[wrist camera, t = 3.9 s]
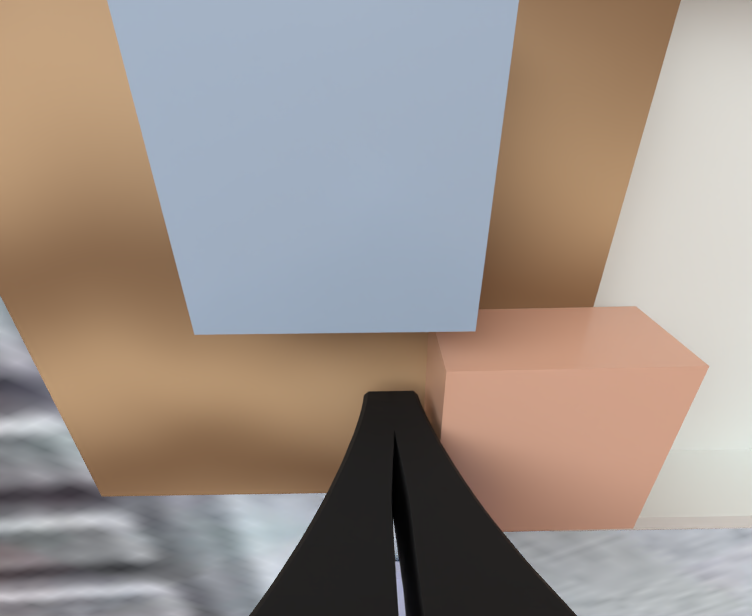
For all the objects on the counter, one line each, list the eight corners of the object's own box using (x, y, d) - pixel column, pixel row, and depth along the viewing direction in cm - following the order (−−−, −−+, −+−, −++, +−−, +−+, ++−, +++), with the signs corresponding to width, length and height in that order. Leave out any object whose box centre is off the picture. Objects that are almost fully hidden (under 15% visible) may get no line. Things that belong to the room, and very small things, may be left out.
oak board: (520, 441, 15) (541, 489, 13) (134, 447, 15) (102, 496, 13) (637, -67, 8) (712, -112, 6) (-76, -64, 8) (-204, -109, 6)
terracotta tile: (586, 452, 12) (632, 528, 10) (421, 455, 12) (432, 533, 10) (635, 306, 10) (709, 365, 8) (429, 310, 10) (446, 372, 8)
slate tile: (451, 276, 9) (475, 330, 7) (234, 278, 9) (194, 334, 7) (475, 9, 7) (521, -25, 5) (183, 11, 7) (101, -23, 5)
